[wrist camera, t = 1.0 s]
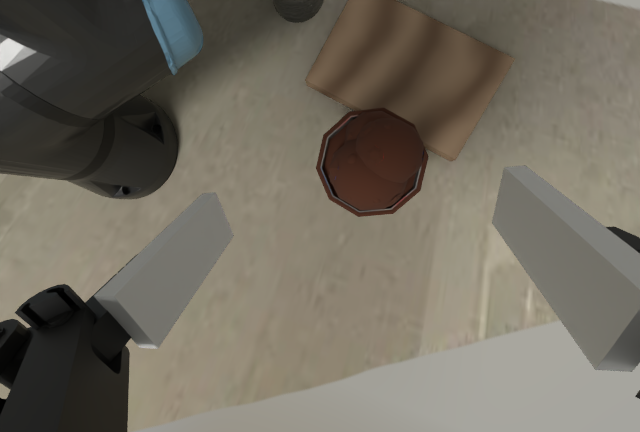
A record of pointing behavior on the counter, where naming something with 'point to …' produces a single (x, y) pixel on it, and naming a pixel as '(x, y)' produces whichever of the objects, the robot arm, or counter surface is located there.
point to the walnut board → (409, 71)
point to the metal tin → (297, 9)
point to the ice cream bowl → (372, 162)
